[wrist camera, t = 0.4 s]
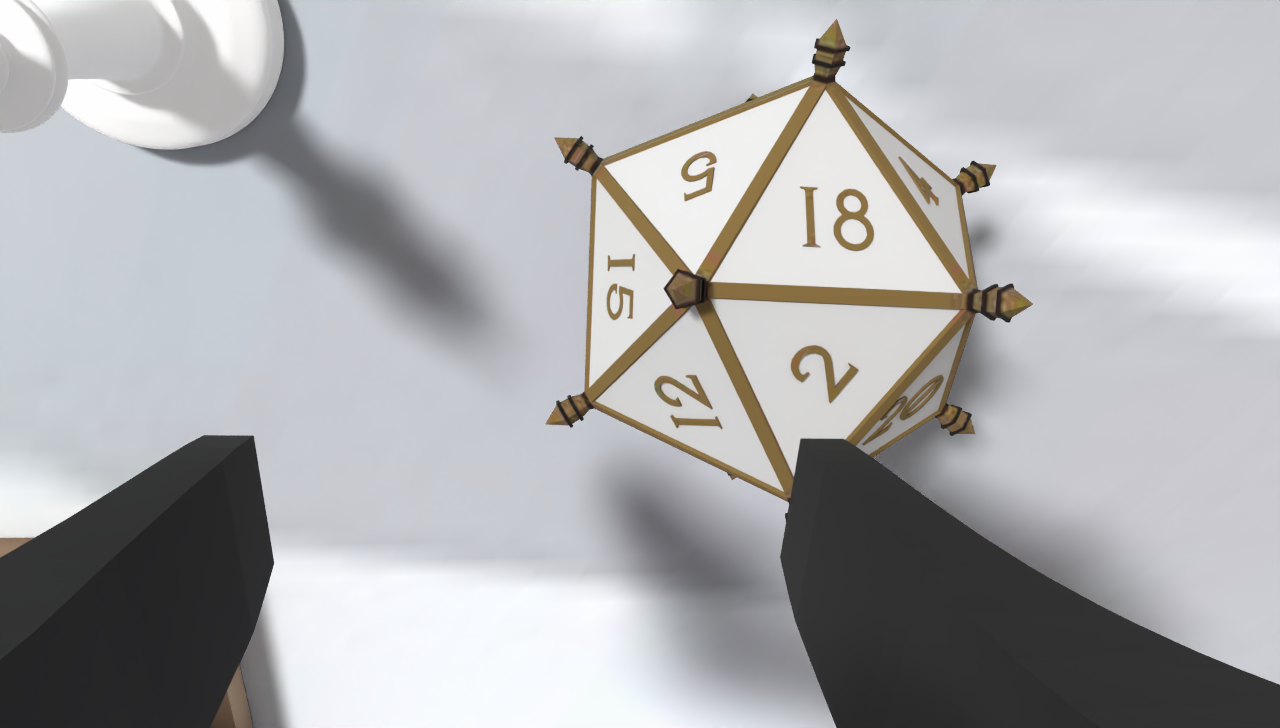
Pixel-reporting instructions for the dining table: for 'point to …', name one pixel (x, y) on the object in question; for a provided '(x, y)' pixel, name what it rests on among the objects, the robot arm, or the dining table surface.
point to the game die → (779, 281)
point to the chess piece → (140, 66)
